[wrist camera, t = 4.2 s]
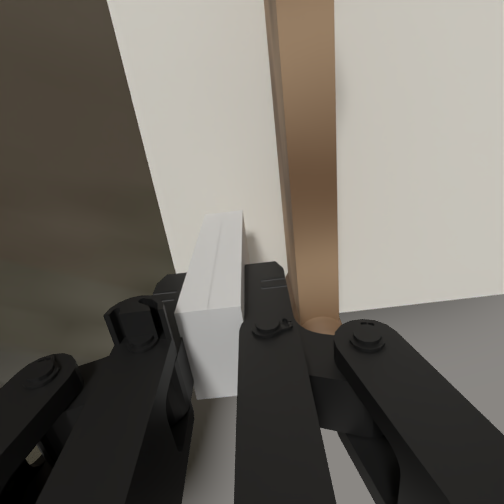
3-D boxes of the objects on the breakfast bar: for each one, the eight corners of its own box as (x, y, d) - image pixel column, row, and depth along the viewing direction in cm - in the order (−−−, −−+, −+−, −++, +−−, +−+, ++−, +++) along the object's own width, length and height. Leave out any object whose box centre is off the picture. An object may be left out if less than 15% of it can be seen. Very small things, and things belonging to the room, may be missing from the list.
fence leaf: (254, -36, 11) (262, -123, 6) (309, -44, 11) (358, -138, 6) (286, 299, 17) (302, 381, 12) (323, 294, 17) (353, 376, 12)
